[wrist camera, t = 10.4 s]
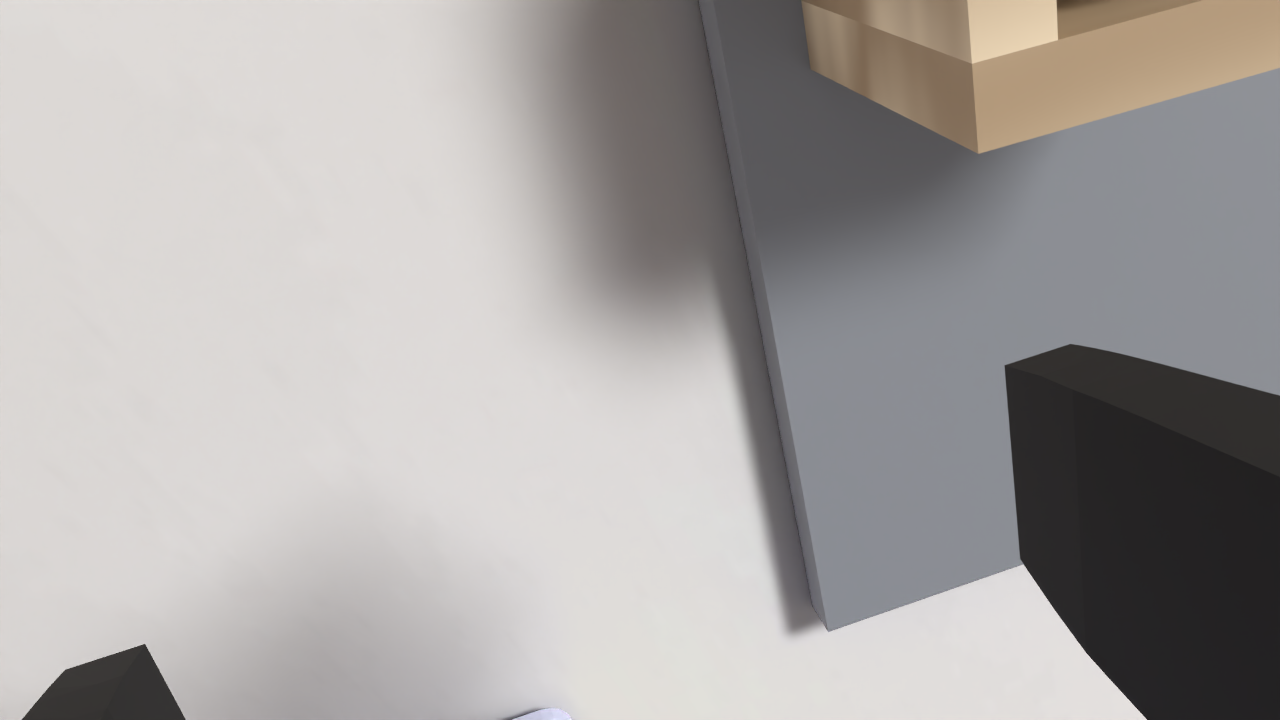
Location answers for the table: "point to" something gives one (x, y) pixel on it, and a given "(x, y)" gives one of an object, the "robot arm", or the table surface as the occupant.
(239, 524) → the table surface
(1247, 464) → the robot arm
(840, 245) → the slate board
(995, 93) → the birch collar
